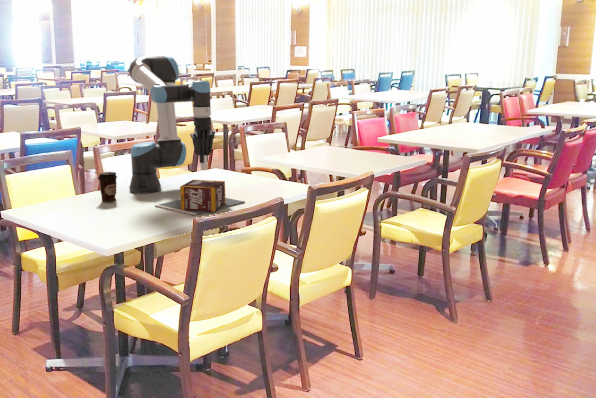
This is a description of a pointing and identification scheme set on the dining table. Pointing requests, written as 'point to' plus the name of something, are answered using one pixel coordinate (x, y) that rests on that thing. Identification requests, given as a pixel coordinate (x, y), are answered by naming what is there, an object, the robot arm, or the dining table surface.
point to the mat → (177, 207)
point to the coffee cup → (108, 186)
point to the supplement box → (202, 195)
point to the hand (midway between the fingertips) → (204, 169)
